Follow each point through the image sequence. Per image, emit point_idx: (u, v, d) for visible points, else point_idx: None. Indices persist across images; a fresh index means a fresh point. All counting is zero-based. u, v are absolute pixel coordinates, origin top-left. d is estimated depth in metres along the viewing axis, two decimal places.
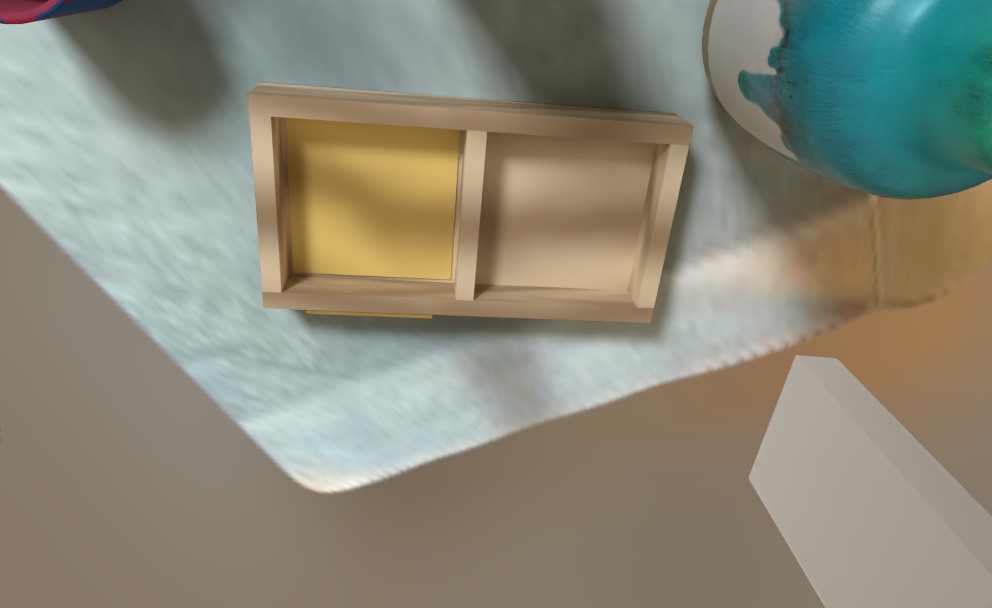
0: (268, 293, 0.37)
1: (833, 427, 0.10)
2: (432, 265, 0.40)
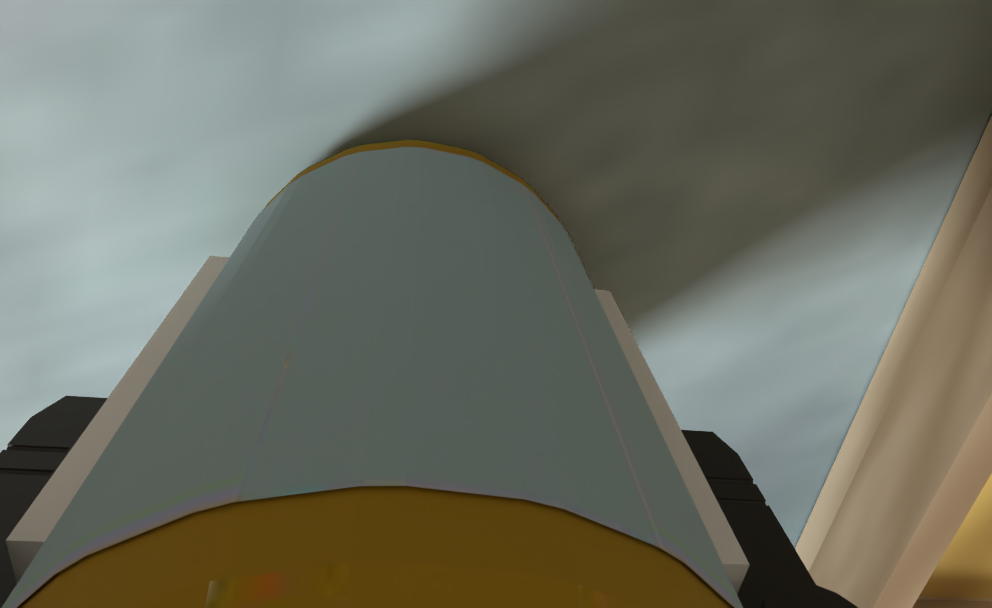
0: None
1: None
2: None
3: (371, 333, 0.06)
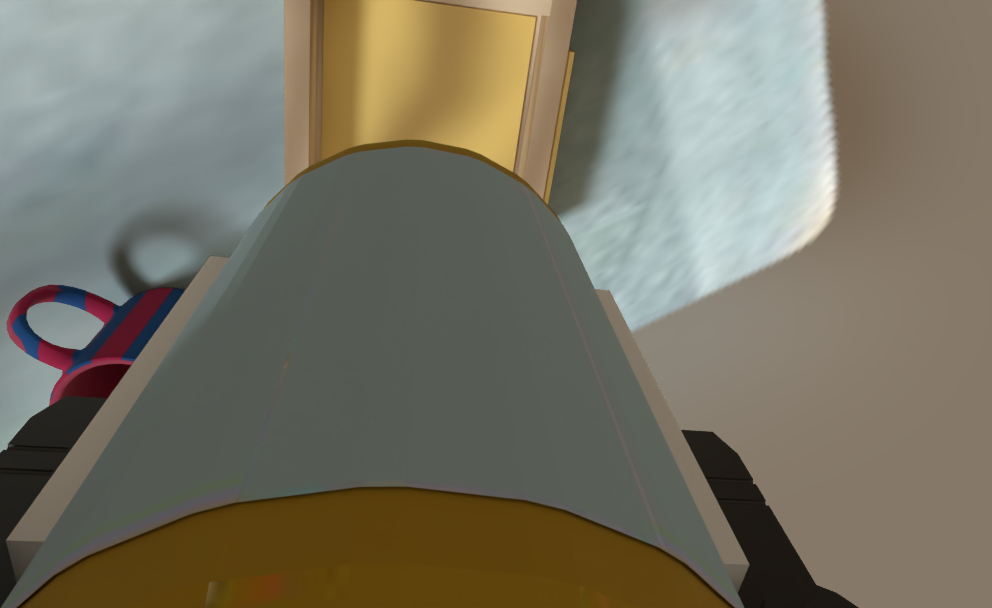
0: None
1: None
2: (513, 41, 0.30)
3: (371, 333, 0.06)
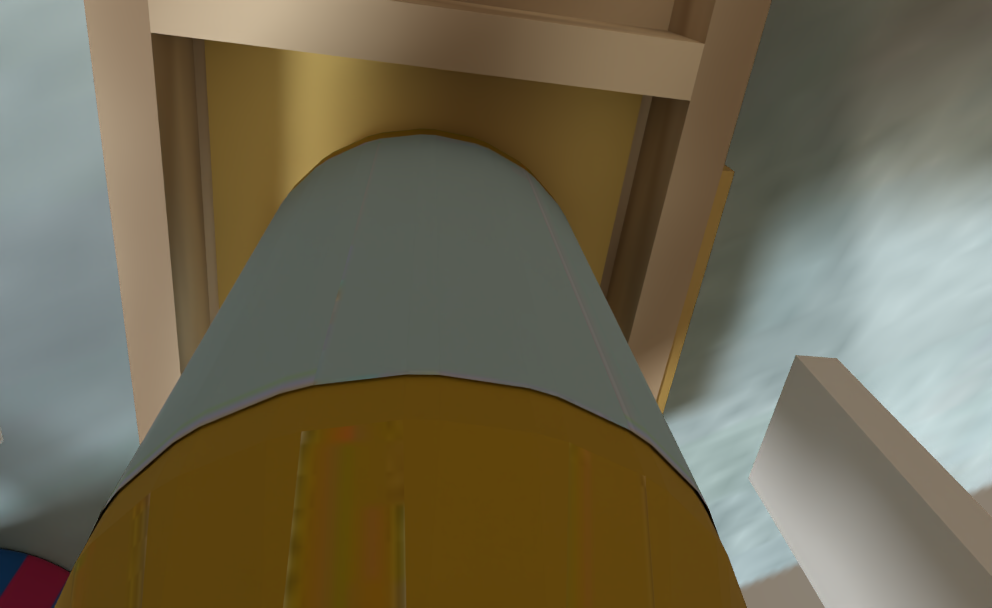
0: None
1: (833, 428, 0.10)
2: (595, 137, 0.15)
3: (404, 277, 0.08)
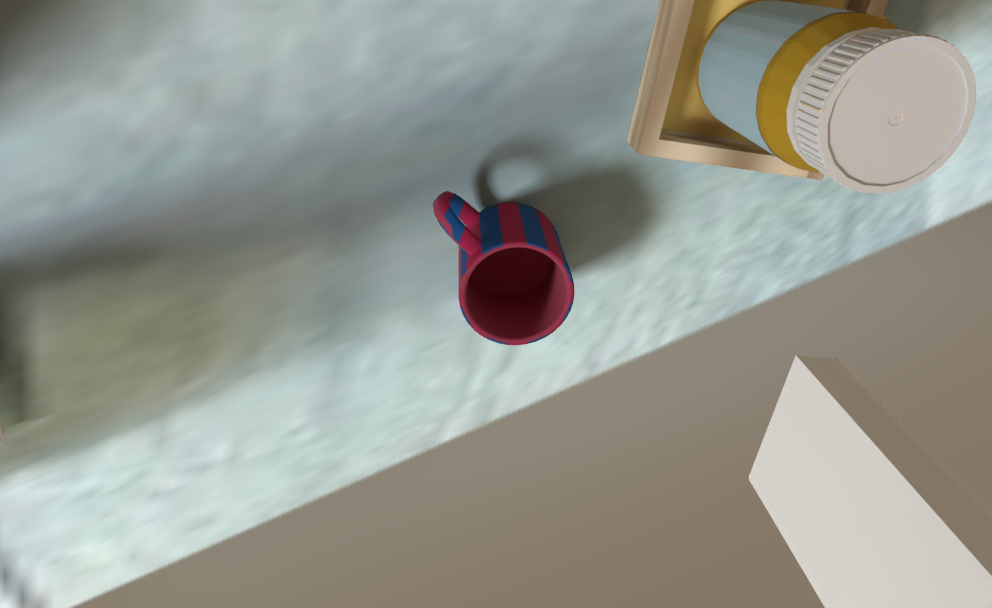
0: (810, 172, 0.41)
1: (833, 427, 0.10)
2: None
3: (830, 8, 0.32)
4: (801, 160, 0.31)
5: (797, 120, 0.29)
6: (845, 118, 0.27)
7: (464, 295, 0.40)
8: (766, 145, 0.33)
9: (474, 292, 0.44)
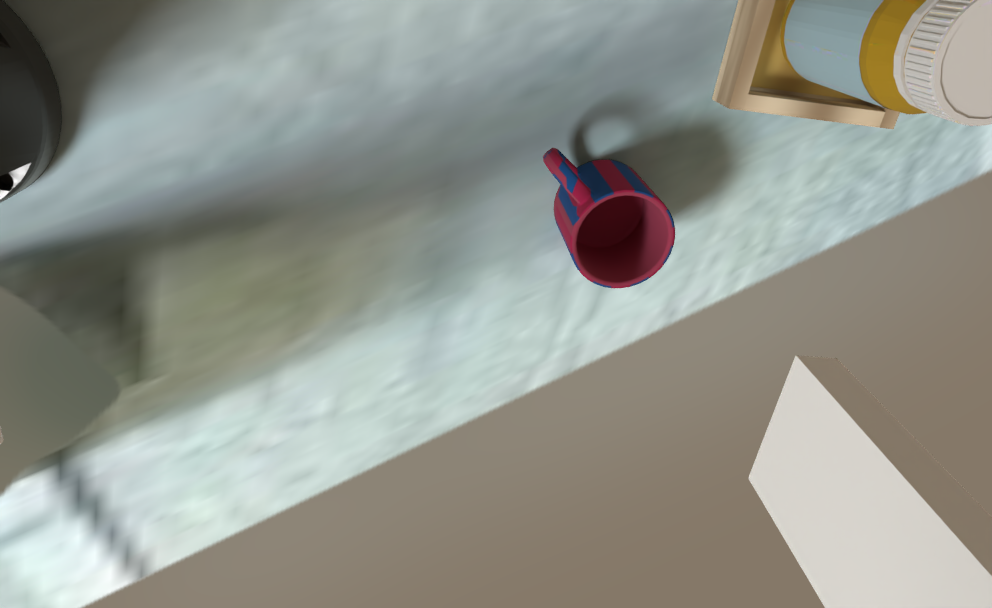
0: (882, 122, 0.45)
1: (832, 427, 0.10)
2: None
3: None
4: (902, 101, 0.35)
5: (906, 63, 0.32)
6: (956, 58, 0.31)
7: (575, 242, 0.43)
8: (865, 91, 0.36)
9: None
